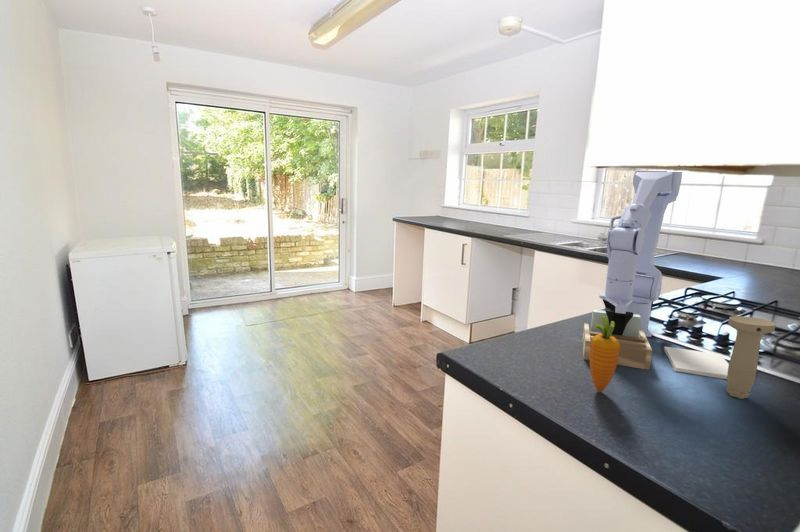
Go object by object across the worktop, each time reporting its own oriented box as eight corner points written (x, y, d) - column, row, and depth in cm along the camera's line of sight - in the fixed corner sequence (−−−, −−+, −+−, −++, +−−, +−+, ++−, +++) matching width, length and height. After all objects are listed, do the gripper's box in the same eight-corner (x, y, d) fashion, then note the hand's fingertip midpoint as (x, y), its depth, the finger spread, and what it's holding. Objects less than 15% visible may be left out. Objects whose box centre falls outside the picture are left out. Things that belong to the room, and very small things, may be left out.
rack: (582, 339, 101) (584, 319, 100) (640, 347, 96) (643, 326, 95) (583, 359, 90) (585, 336, 89) (649, 369, 85) (653, 346, 84)
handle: (765, 404, 72) (781, 327, 68) (723, 399, 73) (738, 323, 70) (749, 391, 76) (765, 318, 73) (711, 386, 78) (724, 315, 75)
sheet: (589, 343, 99) (592, 309, 97) (634, 350, 95) (639, 314, 93) (589, 346, 97) (593, 311, 95) (635, 353, 93) (640, 317, 91)
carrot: (612, 401, 73) (622, 324, 70) (583, 394, 75) (591, 319, 72) (614, 389, 77) (623, 316, 74) (586, 382, 79) (594, 312, 76)
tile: (663, 349, 95) (664, 346, 95) (719, 357, 91) (720, 354, 91) (675, 371, 84) (675, 367, 84) (739, 381, 80) (740, 377, 80)
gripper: (599, 270, 100) (594, 321, 103) (603, 284, 87) (596, 341, 90) (631, 273, 98) (624, 324, 100) (640, 287, 85) (632, 346, 87)
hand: (613, 332), depth 95 cm, fingers open, 7 cm apart
